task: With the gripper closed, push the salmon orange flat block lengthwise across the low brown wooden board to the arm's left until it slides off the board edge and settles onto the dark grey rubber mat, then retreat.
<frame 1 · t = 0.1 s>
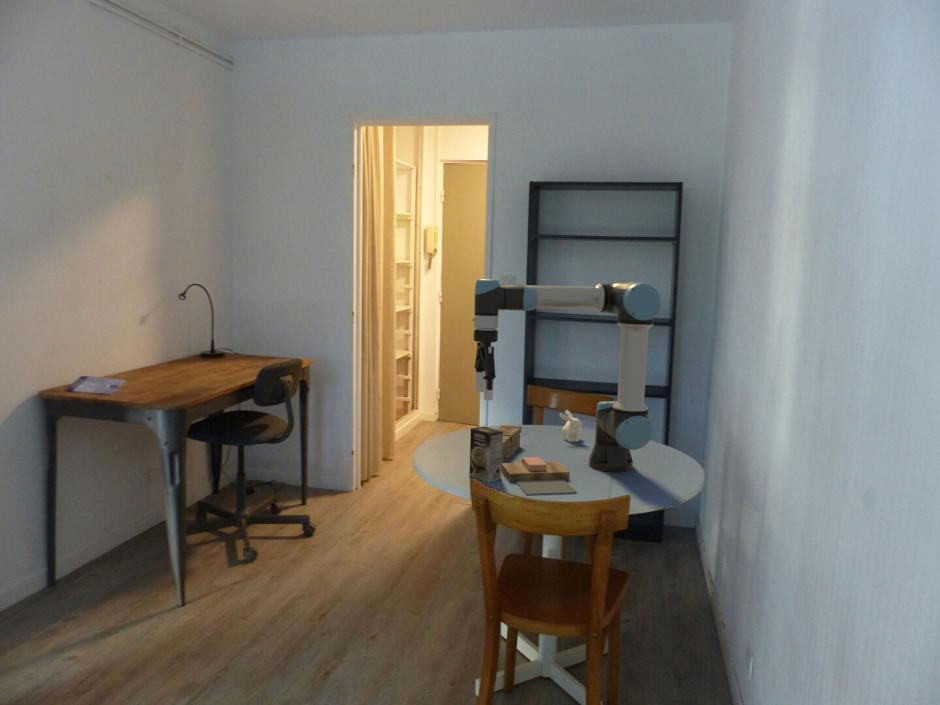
hand: (483, 396, 219), 28 cm above the table, fingers open, 13 cm apart
block tower: (501, 455, 257), on the table
coffee box: (485, 478, 227), on the table
mat: (545, 487, 219), on the table
rabbit: (571, 440, 280), on the table
salmon orange flat block: (534, 466, 232), point 3 cm above the table, touching brown wooden board
brown wooden board: (534, 475, 232), on the table
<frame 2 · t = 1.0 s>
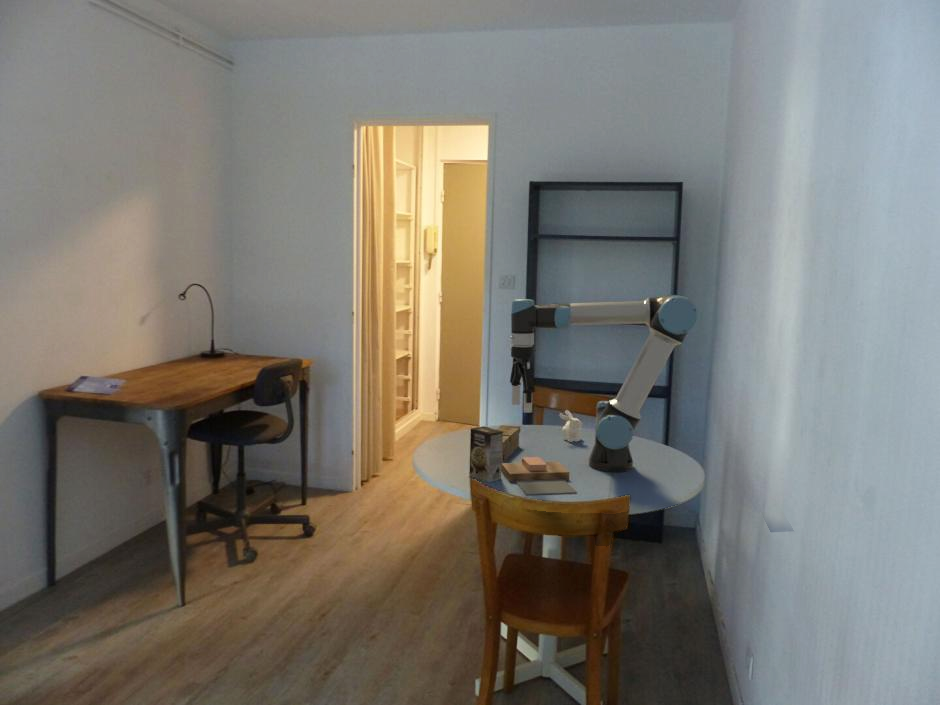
hand: (521, 408, 234), 21 cm above the table, fingers open, 13 cm apart
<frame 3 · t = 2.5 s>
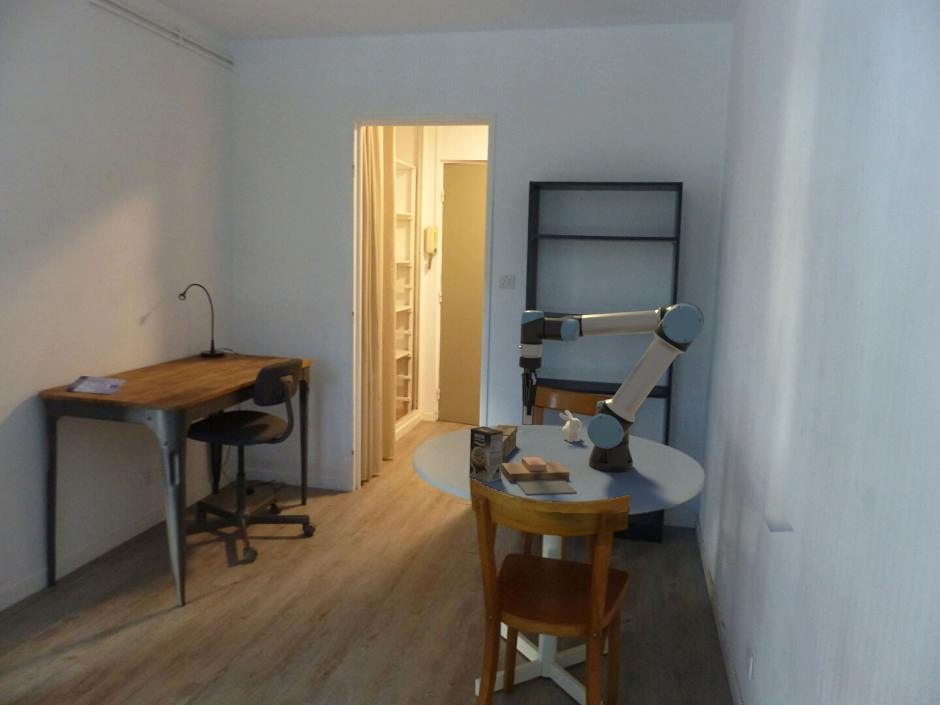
hand: (527, 423, 239), 15 cm above the table, fingers closed
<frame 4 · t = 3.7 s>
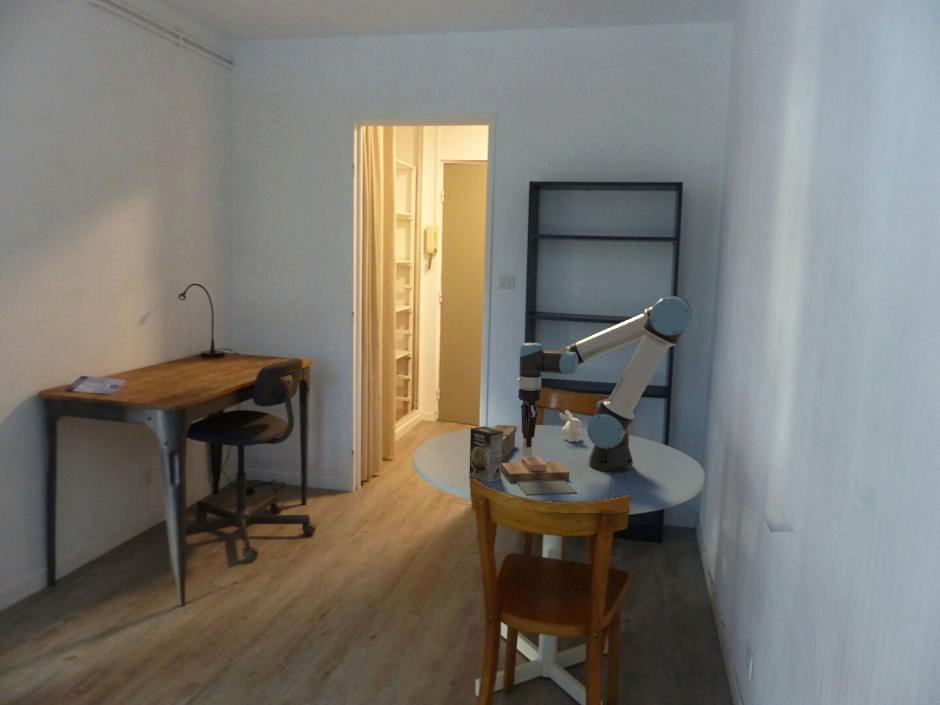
hand: (527, 455, 241), 4 cm above the table, fingers closed
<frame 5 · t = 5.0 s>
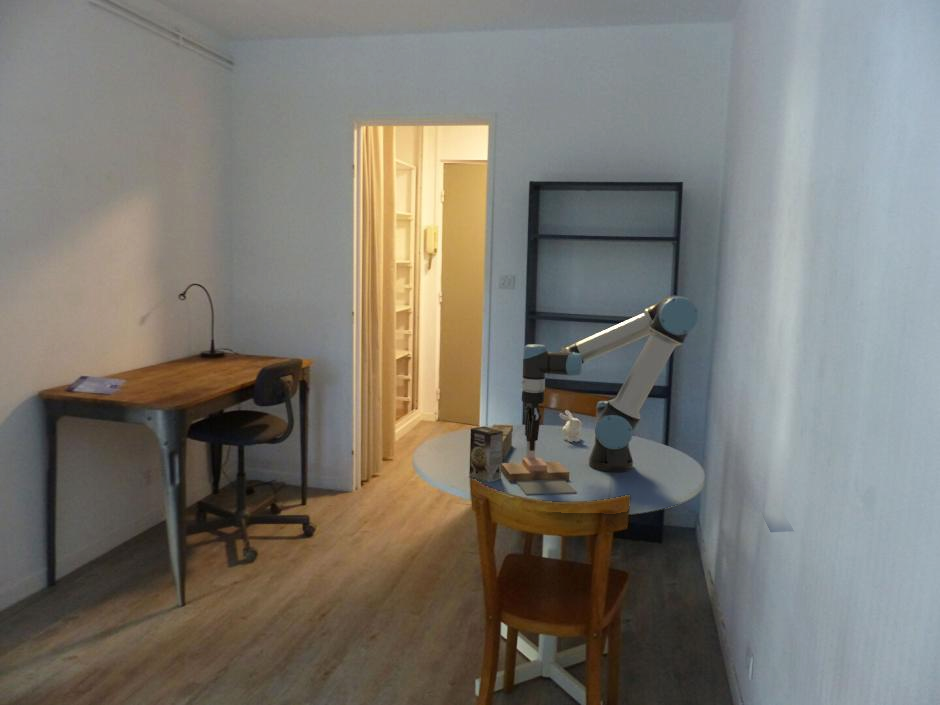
hand: (530, 458, 236), 4 cm above the table, fingers closed
salmon orange flat block: (534, 467, 231), point 3 cm above the table, touching brown wooden board, gripper
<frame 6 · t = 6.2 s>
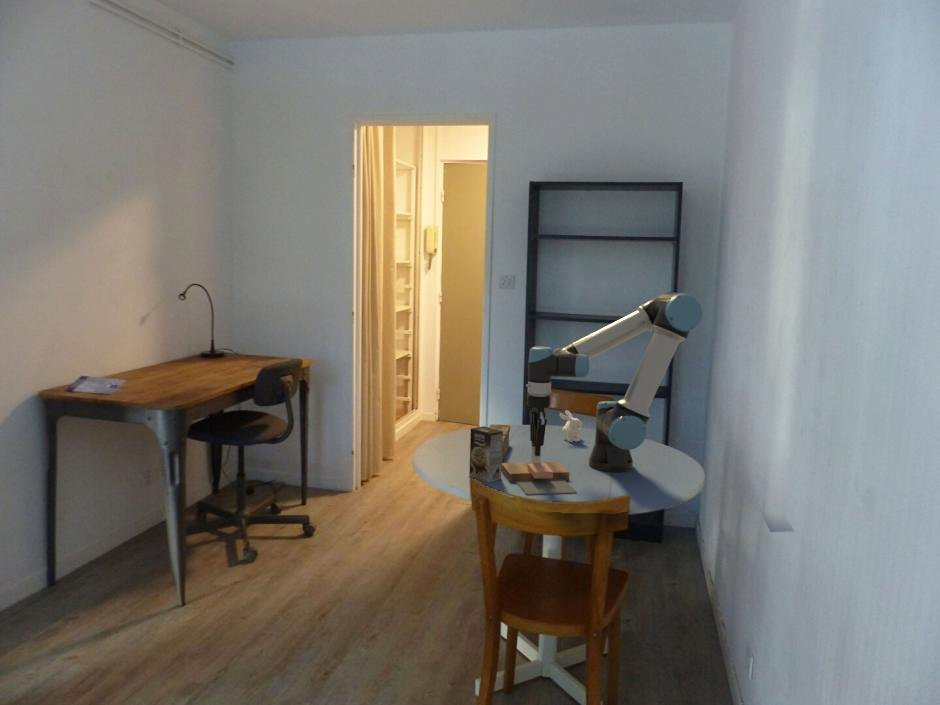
hand: (535, 464, 229), 4 cm above the table, fingers closed
salmon orange flat block: (539, 473, 225), point 3 cm above the table, touching gripper
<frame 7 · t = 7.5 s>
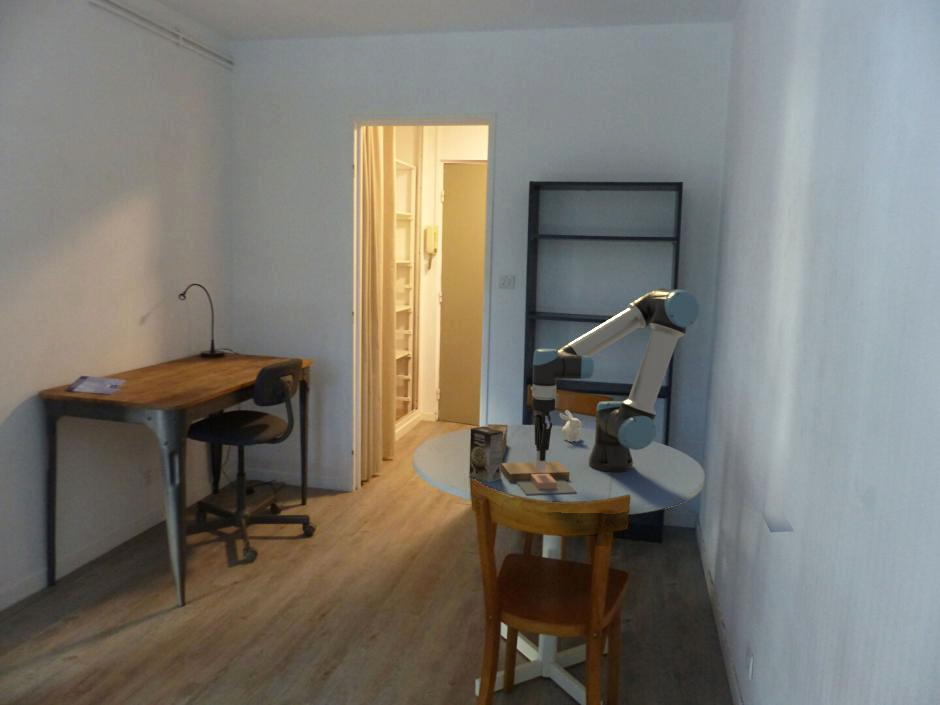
hand: (540, 469, 224), 4 cm above the table, fingers closed
salmon orange flat block: (543, 484, 221), resting on mat
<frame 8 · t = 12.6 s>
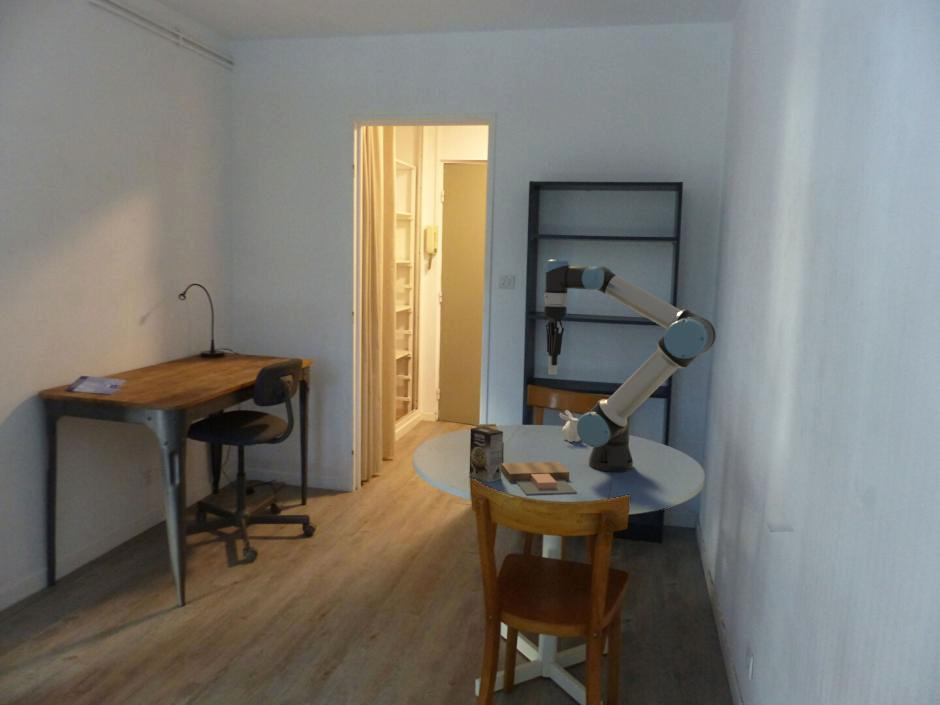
hand: (552, 374, 239), 32 cm above the table, fingers closed
block tower: (489, 454, 258), on the table
everything else where it was.
at the end: salmon orange flat block resting on mat; salmon orange flat block inside the target area (2.1 cm from its centre), resting on mat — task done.
